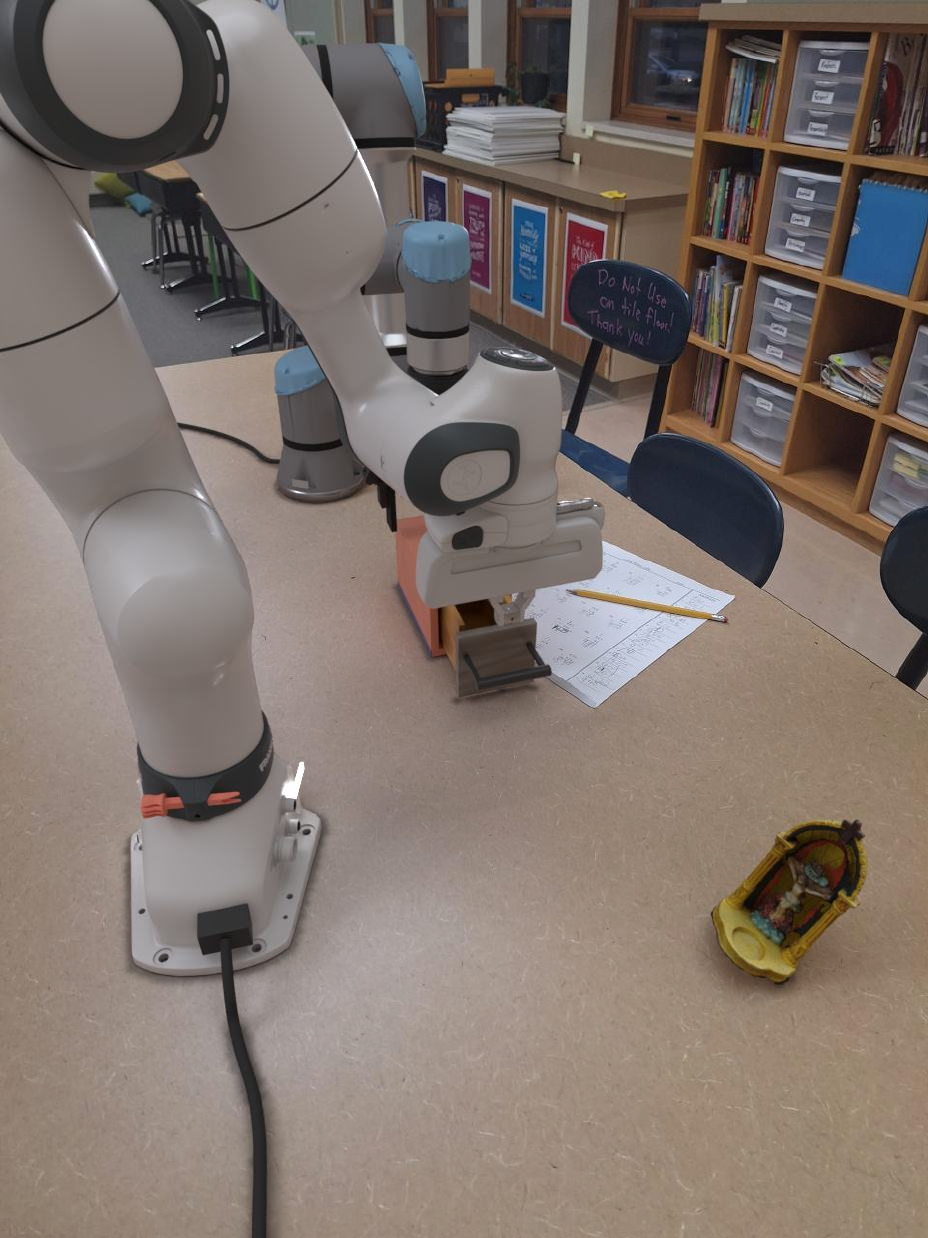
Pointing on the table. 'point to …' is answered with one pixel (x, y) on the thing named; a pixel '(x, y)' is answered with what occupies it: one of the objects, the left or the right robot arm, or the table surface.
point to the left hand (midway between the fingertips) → (509, 621)
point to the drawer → (488, 648)
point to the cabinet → (406, 571)
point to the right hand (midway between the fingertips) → (441, 519)
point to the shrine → (792, 897)
